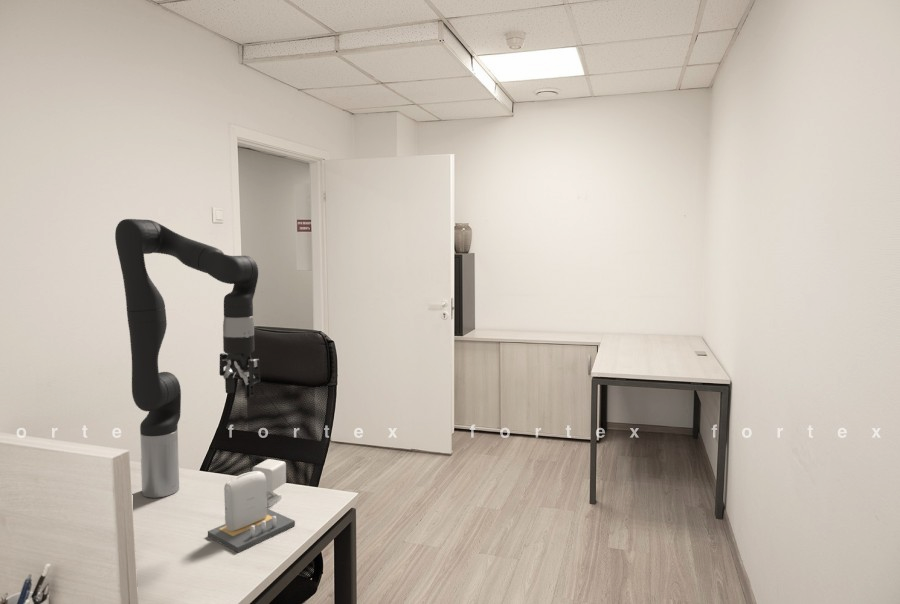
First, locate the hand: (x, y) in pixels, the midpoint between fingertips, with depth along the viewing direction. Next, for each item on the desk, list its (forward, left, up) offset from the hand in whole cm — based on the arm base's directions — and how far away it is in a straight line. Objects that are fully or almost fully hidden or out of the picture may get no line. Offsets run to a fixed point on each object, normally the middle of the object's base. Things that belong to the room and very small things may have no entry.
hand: (239, 395), depth 150 cm
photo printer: (+11, -6, -29) cm, 32 cm away
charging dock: (+13, -6, -30) cm, 33 cm away
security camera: (+2, +7, -30) cm, 31 cm away
